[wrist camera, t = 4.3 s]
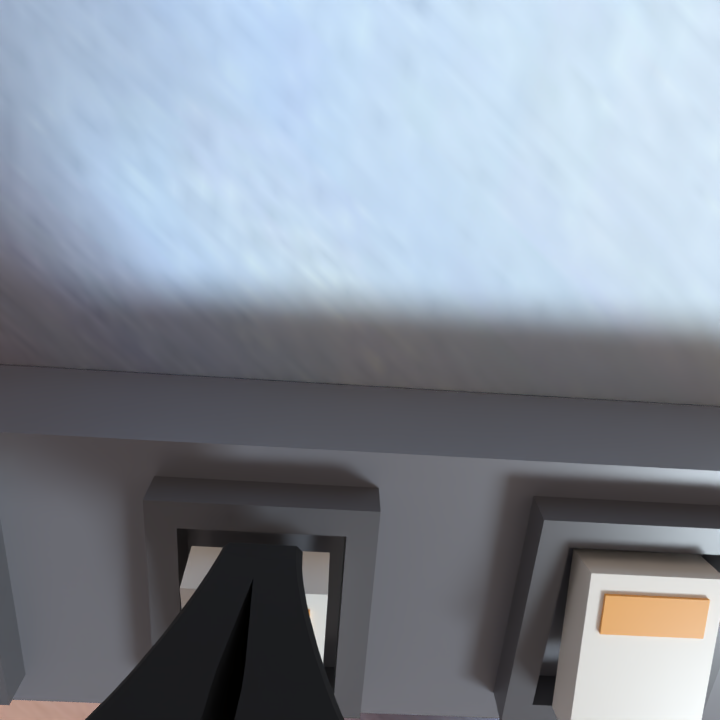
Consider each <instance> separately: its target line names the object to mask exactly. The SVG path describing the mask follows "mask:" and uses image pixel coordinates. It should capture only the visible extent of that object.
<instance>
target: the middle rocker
mask: <svg viewBox="0 0 720 720" xmlns="http://www.w3.org/2000/svg"><path fill="white" fill-rule="evenodd" d="M222 548H223V547H202V546H192V547H191V550H190V554H189V557H188V561H187V564H186V568H185V571H184V575H183V578H182V582H181V585H180V597H181V608H183V607H184V606H185V604H186V603H187V602H188V600H189V599H190V598H191V596H192V595H193V593H194V592H195V591H196V589H197V588H198V586H199V585H200V583H201V582H202V580H203V579H204V577H205V576H206V574H207V573H208V571H209V570H210V568H211V567H212V565H213V563H214V562H215V560H216V559H217V557H218V555H219V553H220V552H221V550H222ZM302 552H303V560H302V574H303V583H304V590H305V596H306V601H307V606H308V611H309V615H310V619H311V623H312V627H313V631H314V634H315V638H316V642H317V646H318V649H319V652H320V655H321V659H322V662H323V657H324V643H325V629H326V615H327V601H328V582H329V559H330V553H328V552H307V551H302Z"/></svg>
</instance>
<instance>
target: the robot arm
mask: <svg viewBox="0 0 720 720" xmlns="http://www.w3.org/2000/svg"><path fill="white" fill-rule="evenodd" d="M302 560H303V552H302V551H301V550H300V549H299V548H298V547H297V546H286V545H268V544H249V543H230V542H229V543H228V544H227V545H225V546H224V547H223V548H222V550H221V552H220V553H219V555H218V557H217V559H216V560H215V562H214V563H213V565H212V567H211V568H210V570H209V571H208V573H207V574H206V576H205V577H204V579H203V580H202V582H201V583H200V585H199V586H198V588H197V589H196V591H195V592H194V593H193V595H192V596H191V598H190V599H189V600H188V602H187V603H186V604H185V606H184V607H183V608H182V610H181V611H180V612H179V614H178V615H177V616H176V618H175V619H174V620H173V622H172V623H171V624H170V626H169V627H168V628H167V630H166V631H165V632H164V633H163V635H162V636H161V637H160V638H159V639H158V641H157V642H156V643H155V644H154V645H153V646H152V648H151V649H150V650H149V651H148V652H147V654H146V655H145V656H144V657H143V658H142V659H141V661H140V662H139V663H138V664H137V665H136V667H135V668H134V669H133V670H132V671H131V672H130V673H129V675H128V676H127V677H126V678H125V679H124V680H123V681H122V682H121V683H120V684H119V685H118V687H117V688H116V689H115V690H114V691H113V692H112V693H111V694H110V695H109V696H108V697H107V698H106V699H105V700H104V701H103V702H102V703H101V704H100V705H99V706H98V707H97V708H96V709H95V710H94V711H93V712H92V713H91V714H90V715H89V716H88V717H87V718H86V719H85V720H344V718H343V716H342V713H341V711H340V709H339V706H338V703H337V701H336V698H335V696H334V693H333V690H332V688H331V685H330V682H329V679H328V676H327V673H326V671H325V668H324V665H323V662H322V659H321V655H320V652H319V649H318V646H317V642H316V638H315V634H314V631H313V627H312V623H311V619H310V615H309V611H308V606H307V601H306V596H305V590H304V583H303V574H302Z"/></svg>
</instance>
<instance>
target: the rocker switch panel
mask: <svg viewBox="0 0 720 720" xmlns="http://www.w3.org/2000/svg"><path fill="white" fill-rule="evenodd" d="M229 542H230V543H249V544H268V545H286V546H297V547H298V548H299V549H300V550H301V551H307V552H328V553H330V559H329V582H328V601H327V615H326V629H325V643H324V657H323V665H324V668H325V671H326V673H327V676H328V679H329V682H330V685H331V688H332V690H333V693H334V696H335V698H336V701H337V703H338V706H339V709H340V711H341V713H342V716H343V718H360V714H361V713H377V714H404V715H430V716H456V717H482V718H500V720H558V719H557V717H556V714H555V712H554V710H553V708H552V703H553V696H554V689H555V681H556V674H557V666H558V659H559V652H560V644H561V637H562V629H563V622H564V615H565V607H566V600H567V592H568V585H569V578H570V570H571V563H572V556H573V549H592V550H613V551H633V552H654V553H674V554H695V555H700V556H701V557H703V558H704V559H705V560H706V561H707V562H708V563H709V564H710V565H711V566H713V567H714V568H715V569H716V570H717V571H718V572H719V573H720V407H717V406H699V405H682V404H665V403H648V402H631V401H614V400H596V399H579V398H562V397H545V396H528V395H511V394H493V393H476V392H459V391H442V390H425V389H407V388H390V387H373V386H356V385H339V384H322V383H304V382H287V381H270V380H253V379H236V378H218V377H201V376H184V375H167V374H150V373H133V372H115V371H98V370H81V369H64V368H47V367H30V366H12V365H0V705H9V704H10V703H11V701H12V700H36V701H62V702H88V703H102V702H103V701H104V700H105V699H106V698H107V697H108V696H109V695H110V694H111V693H112V692H113V691H114V690H115V689H116V688H117V687H118V685H119V684H120V683H121V682H122V681H123V680H124V679H125V678H126V677H127V676H128V675H129V673H130V672H131V671H132V670H133V669H134V668H135V667H136V665H137V664H138V663H139V662H140V661H141V659H142V658H143V657H144V656H145V655H146V654H147V652H148V651H149V650H150V649H151V648H152V646H153V645H154V644H155V643H156V642H157V641H158V639H159V638H160V637H161V636H162V635H163V633H164V632H165V631H166V630H167V628H168V627H169V626H170V624H171V623H172V622H173V620H174V619H175V618H176V616H177V615H178V614H179V612H180V611H181V610H182V608H181V597H180V585H181V582H182V578H183V575H184V571H185V568H186V564H187V561H188V557H189V554H190V550H191V547H192V546H202V547H224V546H225V545H227V544H228V543H229ZM702 720H720V622H719V627H718V633H717V638H716V644H715V649H714V655H713V660H712V665H711V671H710V676H709V682H708V687H707V693H706V698H705V704H704V709H703V715H702Z"/></svg>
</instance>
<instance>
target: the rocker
mask: <svg viewBox="0 0 720 720" xmlns="http://www.w3.org/2000/svg"><path fill="white" fill-rule="evenodd" d="M719 622H720V573H719V572H718V571H717V570H716V569H715V568H714V567H713V566H711V565H710V564H709V563H708V562H707V561H706V560H705V559H704V558H703V557H701V556H700V555H695V554H674V553H654V552H633V551H613V550H592V549H573V556H572V563H571V570H570V578H569V585H568V592H567V600H566V607H565V615H564V622H563V629H562V637H561V644H560V652H559V659H558V666H557V674H556V681H555V689H554V696H553V703H552V708H553V710H554V712H555V714H556V717H557V719H558V720H702V715H703V709H704V704H705V698H706V693H707V687H708V682H709V676H710V671H711V665H712V660H713V655H714V649H715V644H716V638H717V633H718V627H719Z"/></svg>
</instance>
